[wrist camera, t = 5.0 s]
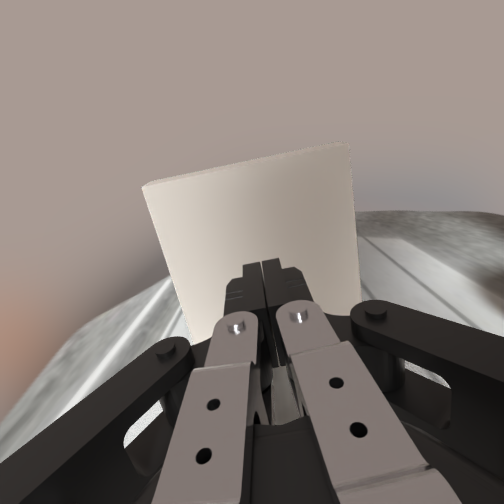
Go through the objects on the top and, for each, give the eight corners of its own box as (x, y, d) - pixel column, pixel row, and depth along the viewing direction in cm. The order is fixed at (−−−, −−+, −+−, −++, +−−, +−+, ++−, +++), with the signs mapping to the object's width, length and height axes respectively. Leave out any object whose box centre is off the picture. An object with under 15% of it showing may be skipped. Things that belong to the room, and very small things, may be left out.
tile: (352, 302, 24) (336, 140, 20) (363, 321, 22) (349, 142, 17) (200, 330, 25) (152, 180, 20) (196, 352, 22) (141, 187, 18)
